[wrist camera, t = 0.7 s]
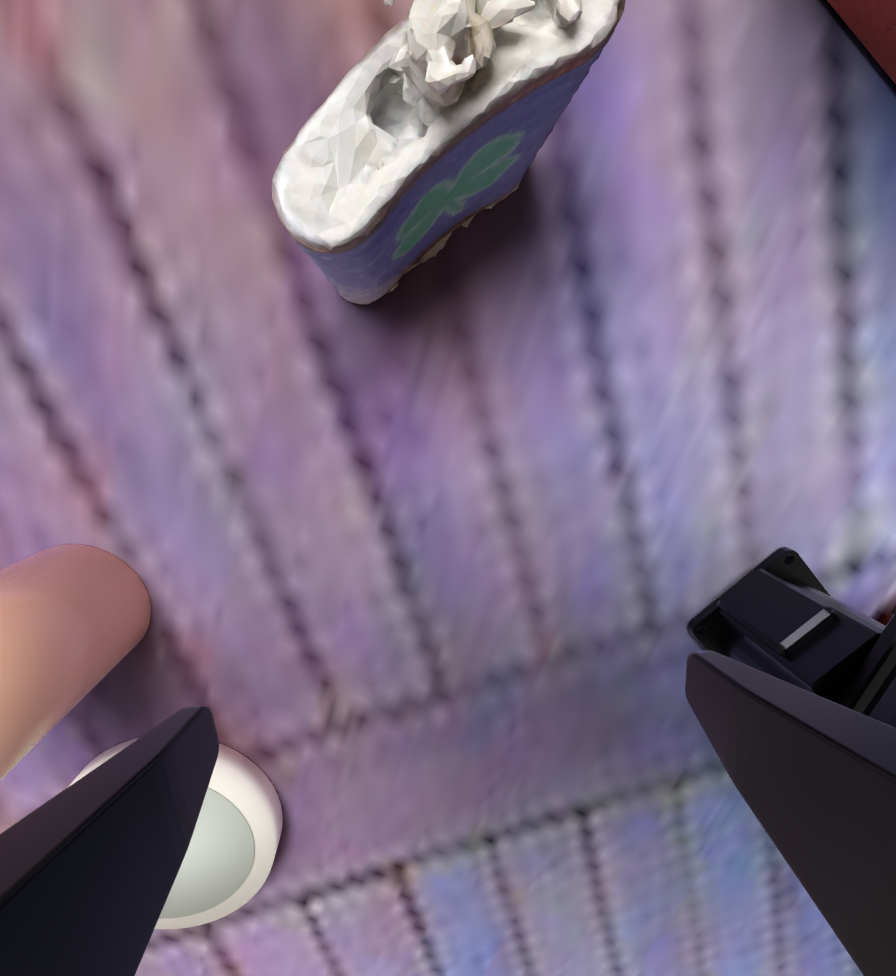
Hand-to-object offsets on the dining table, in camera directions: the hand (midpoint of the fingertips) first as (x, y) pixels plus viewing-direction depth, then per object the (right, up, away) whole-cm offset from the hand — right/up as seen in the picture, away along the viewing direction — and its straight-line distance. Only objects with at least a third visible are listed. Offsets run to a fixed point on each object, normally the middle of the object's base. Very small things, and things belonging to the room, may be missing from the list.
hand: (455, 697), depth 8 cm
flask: (-1, +15, +10) cm, 18 cm away
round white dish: (-15, -14, +16) cm, 26 cm away
